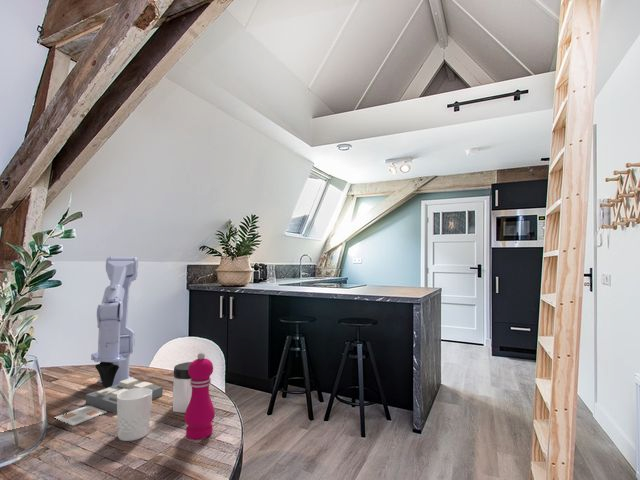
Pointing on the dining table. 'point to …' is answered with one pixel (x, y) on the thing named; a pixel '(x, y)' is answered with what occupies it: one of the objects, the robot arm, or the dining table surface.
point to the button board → (110, 403)
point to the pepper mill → (200, 400)
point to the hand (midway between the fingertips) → (107, 386)
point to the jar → (181, 387)
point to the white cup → (133, 413)
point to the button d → (143, 385)
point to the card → (80, 415)
